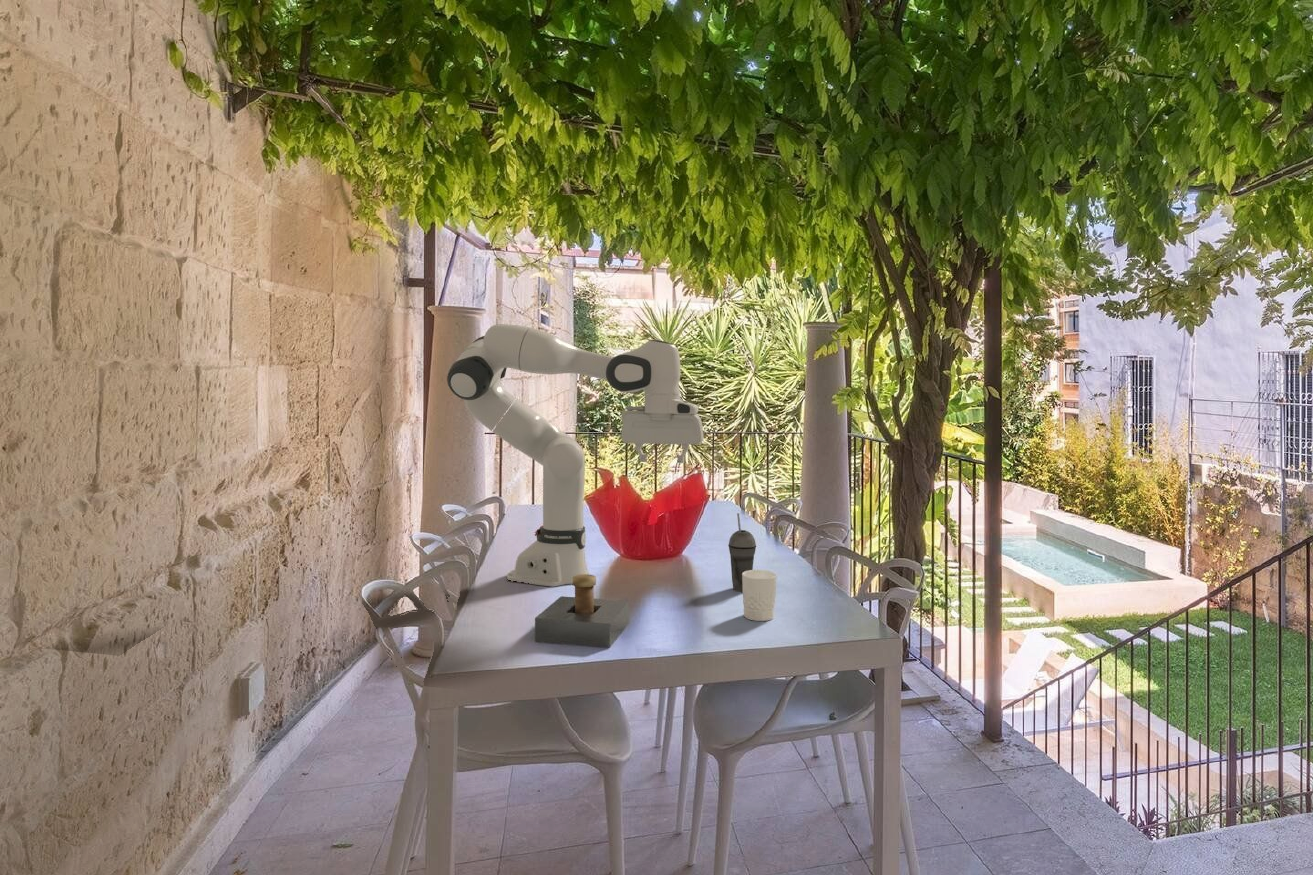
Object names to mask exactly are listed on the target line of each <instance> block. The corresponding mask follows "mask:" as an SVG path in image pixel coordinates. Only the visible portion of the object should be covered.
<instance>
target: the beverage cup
mask: <svg viewBox="0 0 1313 875" xmlns="http://www.w3.org/2000/svg"><path fill="white" fill-rule="evenodd" d="M736 515H737V525H738V526H737V527H738V530H736V531H734V533H732V535H731V536H730V537H729V540H728V545H727V546H728V549H729V555H730V566H731V567H730V568H731V570H730V571H731V583H732V590H733V591H736V592H741V593H743V586H742V573H743V572H745V571H749V570H754V569H753V568H754V567H753V566H754V561H755V560H754V558H755V554H756V549H757V548H756V547H757V543H756V540H755V537H754V535H753V534H752V533H751V532H749V531H748V530H746V529H742V528H741V519H740V513H736Z"/></svg>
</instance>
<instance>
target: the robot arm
mask: <svg viewBox="0 0 1313 875" xmlns="http://www.w3.org/2000/svg"><path fill="white" fill-rule="evenodd" d="M507 369H513V370H517V371H521V372H526V373H529V374H535V375H537V374H539V375H561V374H577V375H582V376H586V377H591V378H596V379H601V380H604V381H607V383H608V384H609V386H611V388H612V389H614V390H616V391H618V392H620V393H624V394H625V393H628V394H632V395H633V394H640V393H642V392H644V405H639V406H633V405H632V406H631V405H628V406H627V407H625V408H624V409H622V411H621V414H620V415H621V417H620V418H621V419H620V420H621V422H622V427H621V436H620V437H621V440H622V442H623V443H624V444H635V450H636V451H637V453H638V455H639V462H640V463H647V462H648V454H646V453H645V454H644V452H643V450H642V448H643V447H644V445H643V444H645V445H646V444H647V445H648V444H649V445H651V444H652V445H653V444H654V445H681V449H682V450H683V451H681V452H682V453H680V454H678V455H677V458H676V460H677V464H684V463H685V456H686V454H687V453H688V450H689V449H690V445H692V446H693V445H695V446H696V445H697V446H698V445H701V444H702V442H704V429H703V423H702V422H703V421H702V419H701V417H700V416H699V415H698V413H699V406H698V405H697V404H695V403H692V402H688V401H687V400H682V399H681V391H680V385H679V383H680V379H681V358H680V352H679V349H678V347H677V346H676V345H675V344H674V343H672V342H670V341H665V340H660V339H659V340H658V339H650V340H647V341H646V342H645V343H643V345H641V346H639V347H637V348H635V349H632V350H630V351H627V352H624V353H621V354H618V355H616V356H611V355H605V354H602V353H598V352H593V351H590V350H589V351H588V350H585V349H582V348H579V347H577V346H575V345H573V344H571V343H569V342H567V341H566V340H564V339H561V338H560V337H558V336H556V335H554V334H551V333H549V332H546V331H544V330H541V329H537V328H533V327H528V326H526V325H525V326H524V325H517V324H509V323H507V324H505V323H504V324H503V323H500V324H499V323H498V324H497V323H495V324H494V325H492V326H490V327H488V329H487V331H486V332H485V333H484V335H482V336H480V337H478V338H476V339H475V340H474V341H473V342H472V343H471V344H470V345H468V346H467V347H466V348H465V349H464V350H463V351H462V353H461V354H460V356H458V358H457V360H456V361H455V362H454V363H452V365H451V366H450V368H449V370H448V373H447V375H446V381H447V382H446V383H447V385H448V387H449V389H450V391H451V392H452V394H454V395H455V396H456V397H457V398H459V399H461V400H464V404H465V409H467V411H468V412H469V413H470V414H471V415H472V416H473V417H474V418H475V419H476V420H477V421H478V422H480V423H481V425H483V426H484V428H485V427H486V428H487V429H488V430H489V431H491V432H492V433H493V434H495V435H496V436H498V437H499V438H501V439H502V440H503V441H505V442H507V444H509V445H510V446H512V447H513V448H515V449H516V450H518V451H520V452H521V453H523V454H524V455H526V456H527V457H529V458H530V459H532V460H533V461H535V462H537V463H538V464H540V465H542V525H541V526H540V527H539V528H537V529H536V530H535V531H534V537H536V540H535V541H534V542H533V543H531V544H530V545H529V546H527V547H526V548H525V549H524V550H523V551H522V552H520V553H519V554H518V556H517V558H516V561H515V565H514V569H512V570H510V572H508V573H507V575H506V580H507V579H508V580H511V581H510V582H513V581H517V582H516V583H521V582H524V583H523V584H528V583H529V585H530V584H531V585H537V586H546V587H559V586H563V585H570V584H572V585H573V576H575V575H580V574H589V570H588V565H587V560H586V552H585V551H586V550H585V547H586V538H587V537H586V527H585V526H584V497H585V496H584V495H585V494H584V493H585V474H586V473H585V472H586V471H585V470H586V467H585V466H586V455H585V451H584V449H583V448H582V446H581V445H580V444H579V442H578V441H576V440H575V439H574V438H573V437H571V436H570V435H568V434H567V433H566V432H564V431H563V430H562V429H560V428H559V427H558V426H556V425H555V424H553V423H551V421H549V420H547V419H546V417H545V418H544V417H543V416H542V415H540V414H539V413H537V412H536V411H535V410H534V409H532V408H531V407H529V406H528V405H526V404H525V403H524V402H522V401H521V400H520V399H518V398H517V397H516V396H514V395H513V394H511V393H509V392H508V391H507V390H506V389H505V387H503V385H502V382H501V379H503V378H505V376H506V373H507ZM508 580H507V581H508Z"/></svg>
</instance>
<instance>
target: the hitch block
mask: <svg viewBox="0 0 1313 875" xmlns="http://www.w3.org/2000/svg"><path fill="white" fill-rule="evenodd" d="M629 624H630V601H629V600H619V599H608V598H607V599H605V598H604V599H603V598H594V614H580V613H575V596H560V597H558V598H557V599H555V601H553V602H552V603H551V604H550V605H549V606H547V607H546V609H544V610H543V611H542V612H541V613H539V614H538V615H537V616H535V617H534V642H536V643H546V644H557V645H558V644H560V645H568V646H569V645H570V646H582V647H596V648H603V649H604V648H606V649H611V647H612V646H613V645H614V643H615V642H616V640H617V639H618V638H619V637H620V635H621V634H622V633H623V631H624V630H625V629H626V628H627V626H628V625H629Z"/></svg>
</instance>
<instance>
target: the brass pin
mask: <svg viewBox="0 0 1313 875" xmlns="http://www.w3.org/2000/svg"><path fill="white" fill-rule="evenodd" d="M596 585H597V576H596V575H594V574H580V575H575V576H573V583H572V586H573V587H574V597H575V613H580V614H594V599H595V596H594V594H595V593H594V592H595V591H594V590H595V588H594V587H595V586H596Z"/></svg>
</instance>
